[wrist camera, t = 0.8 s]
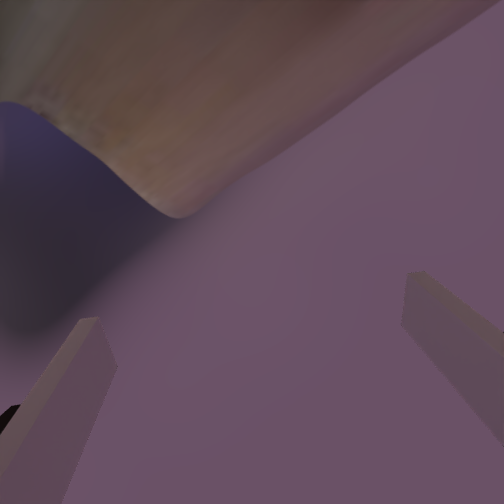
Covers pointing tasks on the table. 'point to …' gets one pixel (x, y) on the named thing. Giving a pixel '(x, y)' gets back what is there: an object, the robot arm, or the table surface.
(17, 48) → the table surface
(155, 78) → the table surface
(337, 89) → the table surface
